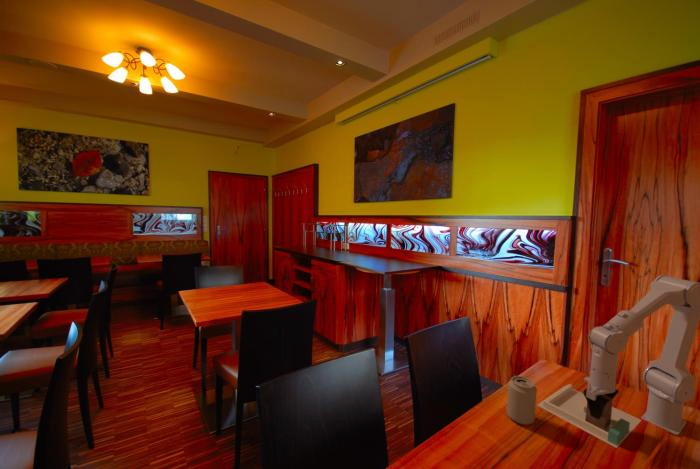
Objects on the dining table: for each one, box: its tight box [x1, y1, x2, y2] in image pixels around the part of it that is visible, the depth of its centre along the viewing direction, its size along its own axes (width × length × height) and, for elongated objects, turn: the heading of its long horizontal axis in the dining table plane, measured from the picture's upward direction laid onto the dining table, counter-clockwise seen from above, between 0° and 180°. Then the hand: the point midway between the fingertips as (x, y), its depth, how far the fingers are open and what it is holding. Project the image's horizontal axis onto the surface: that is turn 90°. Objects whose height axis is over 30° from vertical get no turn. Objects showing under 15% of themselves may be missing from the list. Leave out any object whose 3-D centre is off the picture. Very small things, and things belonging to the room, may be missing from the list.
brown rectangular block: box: [585, 394, 614, 430], centre depth 91 cm, size 4×4×8 cm
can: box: [506, 375, 538, 426], centre depth 94 cm, size 8×8×12 cm
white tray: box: [536, 383, 642, 449], centre depth 97 cm, size 20×20×4 cm
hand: (598, 413), depth 91 cm, fingers closed on brown rectangular block, 4 cm apart
